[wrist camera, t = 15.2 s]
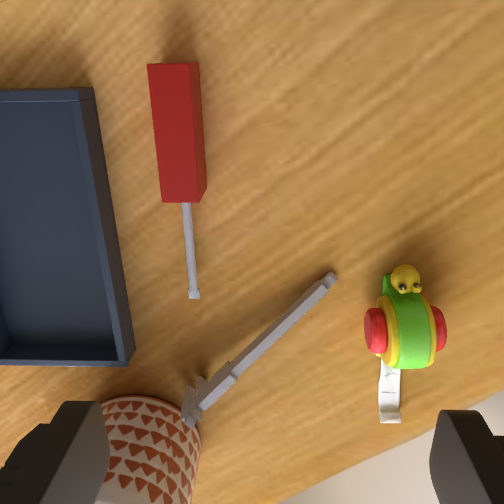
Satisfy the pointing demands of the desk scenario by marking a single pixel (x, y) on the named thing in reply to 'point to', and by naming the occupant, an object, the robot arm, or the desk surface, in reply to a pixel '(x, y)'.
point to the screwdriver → (179, 145)
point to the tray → (58, 235)
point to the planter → (148, 453)
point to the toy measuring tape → (402, 335)
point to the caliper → (249, 354)
